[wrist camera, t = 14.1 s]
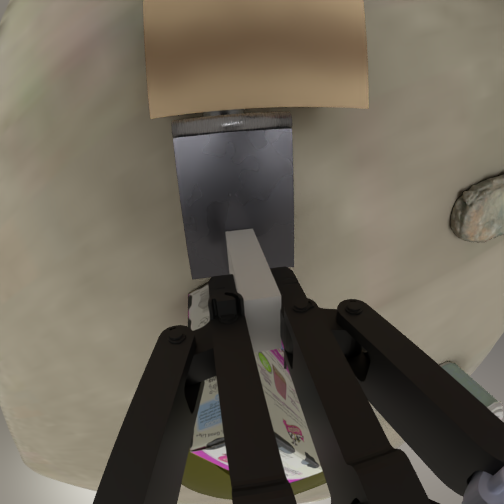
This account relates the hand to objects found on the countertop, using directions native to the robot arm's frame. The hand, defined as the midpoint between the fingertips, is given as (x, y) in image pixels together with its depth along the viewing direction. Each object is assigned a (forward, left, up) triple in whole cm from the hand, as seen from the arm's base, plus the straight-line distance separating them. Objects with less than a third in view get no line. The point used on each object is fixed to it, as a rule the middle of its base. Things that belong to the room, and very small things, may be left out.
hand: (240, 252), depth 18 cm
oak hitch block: (-11, -4, -9) cm, 15 cm away
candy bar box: (+11, +6, -10) cm, 16 cm away
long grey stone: (-20, +36, -10) cm, 42 cm away
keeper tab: (-3, -1, -1) cm, 3 cm away
